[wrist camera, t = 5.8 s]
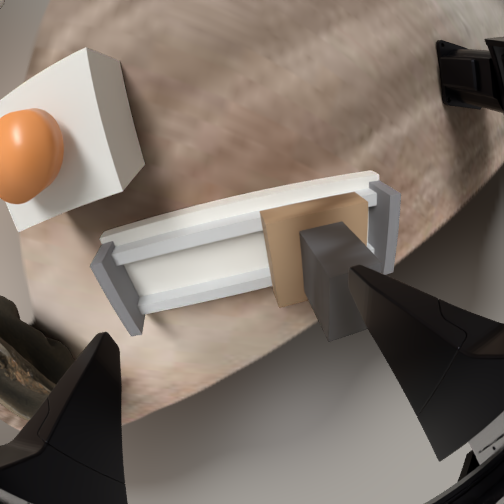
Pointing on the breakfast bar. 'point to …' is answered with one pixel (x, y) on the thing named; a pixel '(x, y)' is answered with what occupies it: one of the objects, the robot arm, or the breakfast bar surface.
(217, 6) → the breakfast bar surface
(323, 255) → the carriage
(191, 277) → the rail track
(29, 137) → the button
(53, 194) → the push button box
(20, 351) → the stone bowl
